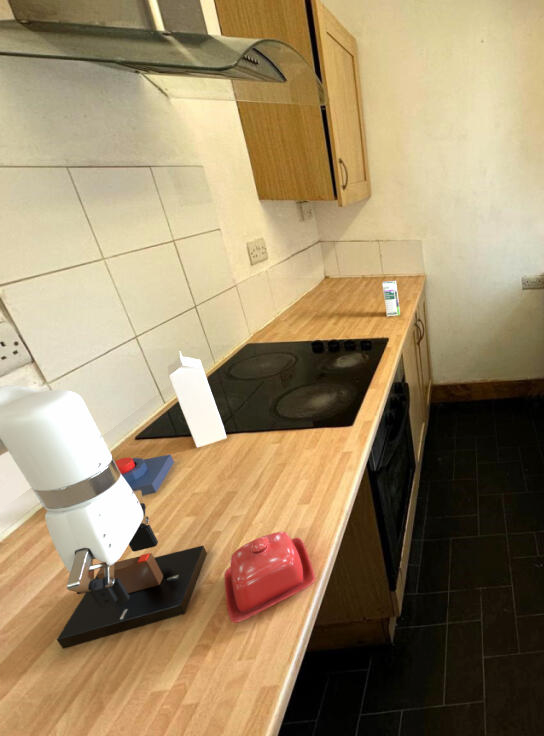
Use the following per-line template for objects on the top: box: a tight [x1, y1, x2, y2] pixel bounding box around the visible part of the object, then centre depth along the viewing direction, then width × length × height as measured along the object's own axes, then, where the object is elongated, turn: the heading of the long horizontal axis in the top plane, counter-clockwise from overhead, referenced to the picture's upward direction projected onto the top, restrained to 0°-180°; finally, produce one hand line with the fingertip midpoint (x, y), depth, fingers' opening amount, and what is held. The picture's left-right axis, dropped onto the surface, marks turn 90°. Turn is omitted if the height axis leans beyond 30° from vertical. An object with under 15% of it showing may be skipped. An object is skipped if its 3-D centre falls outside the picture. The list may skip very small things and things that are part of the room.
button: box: [114, 456, 135, 474], centre depth 84 cm, size 4×4×2 cm
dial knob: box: [96, 552, 163, 593], centre depth 61 cm, size 6×2×5 cm, turn 110°
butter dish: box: [223, 531, 316, 624], centre depth 63 cm, size 12×12×8 cm
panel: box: [56, 545, 208, 650], centre depth 62 cm, size 14×11×2 cm
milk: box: [167, 350, 227, 449], centre depth 96 cm, size 6×6×22 cm
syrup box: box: [381, 280, 401, 318], centre depth 180 cm, size 6×6×14 cm
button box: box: [121, 454, 175, 496], centre depth 85 cm, size 12×10×4 cm
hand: (131, 573), depth 61 cm, fingers open, 9 cm apart
